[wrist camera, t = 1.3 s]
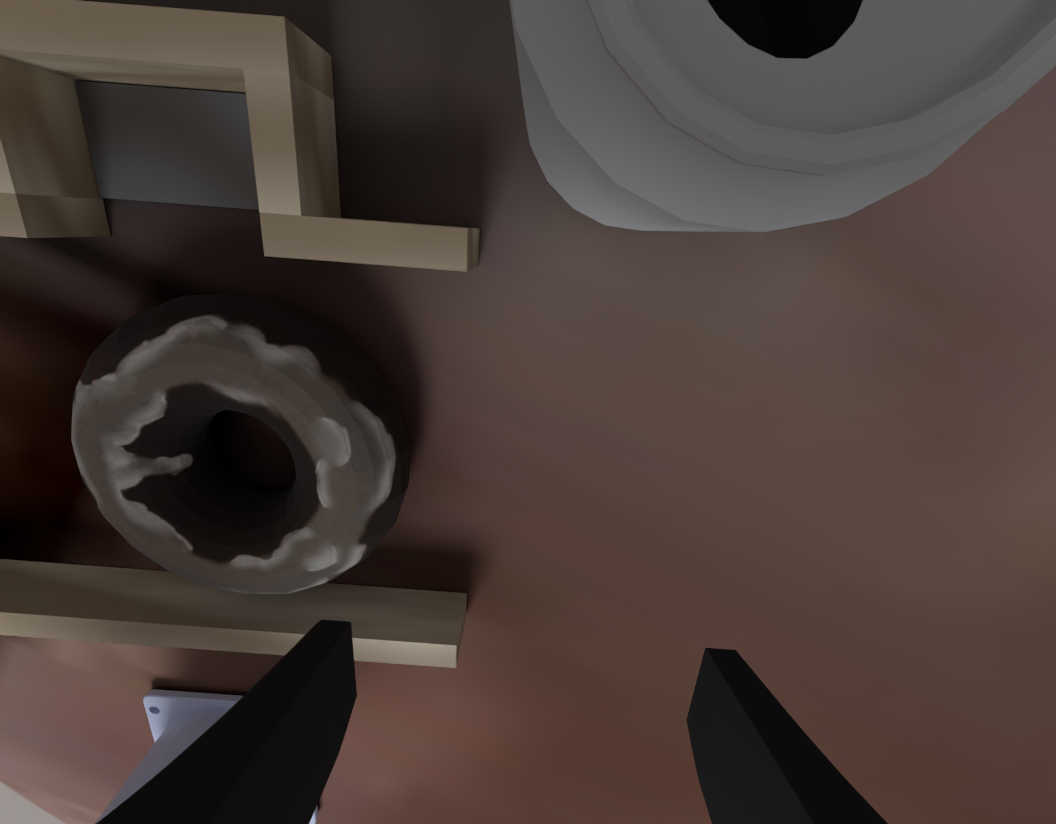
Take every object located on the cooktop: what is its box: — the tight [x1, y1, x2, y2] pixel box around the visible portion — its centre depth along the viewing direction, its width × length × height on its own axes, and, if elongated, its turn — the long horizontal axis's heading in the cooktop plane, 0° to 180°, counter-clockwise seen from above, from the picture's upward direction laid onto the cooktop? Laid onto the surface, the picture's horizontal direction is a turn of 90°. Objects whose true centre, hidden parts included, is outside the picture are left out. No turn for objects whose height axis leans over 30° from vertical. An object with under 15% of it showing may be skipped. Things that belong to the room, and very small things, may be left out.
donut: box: [71, 293, 409, 594], centre depth 18 cm, size 12×12×4 cm
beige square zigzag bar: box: [0, 0, 480, 668], centre depth 18 cm, size 22×31×3 cm
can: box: [509, 0, 1056, 232], centre depth 10 cm, size 8×8×12 cm
